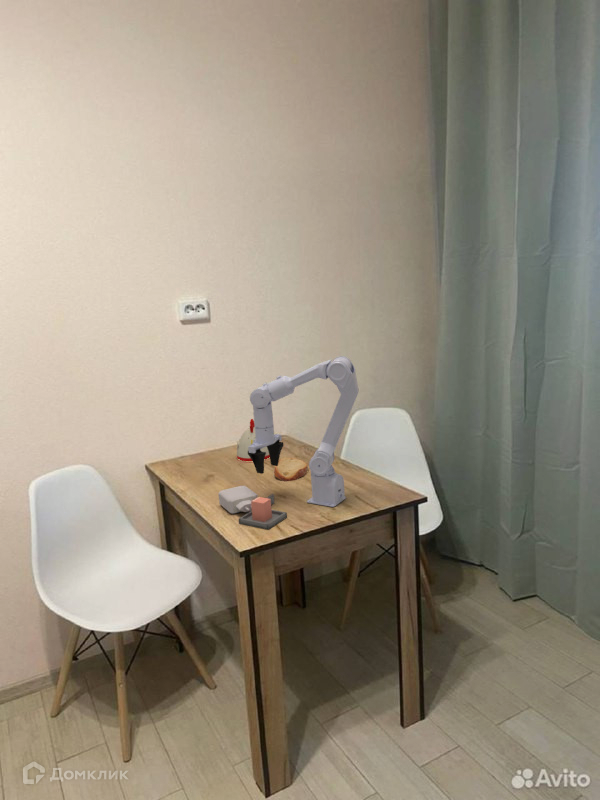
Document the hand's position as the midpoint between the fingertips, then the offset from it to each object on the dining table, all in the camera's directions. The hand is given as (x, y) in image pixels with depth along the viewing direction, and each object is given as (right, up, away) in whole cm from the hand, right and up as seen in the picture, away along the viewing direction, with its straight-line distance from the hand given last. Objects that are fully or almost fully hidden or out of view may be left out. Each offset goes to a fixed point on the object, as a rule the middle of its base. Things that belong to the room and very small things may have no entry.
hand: (267, 469), depth 179 cm
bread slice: (+6, -5, +28) cm, 29 cm away
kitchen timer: (-8, -1, +48) cm, 49 cm away
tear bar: (0, -11, -4) cm, 11 cm away
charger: (-7, -12, -5) cm, 15 cm away
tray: (-1, -13, -14) cm, 19 cm away
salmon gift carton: (-1, -12, -14) cm, 18 cm away
